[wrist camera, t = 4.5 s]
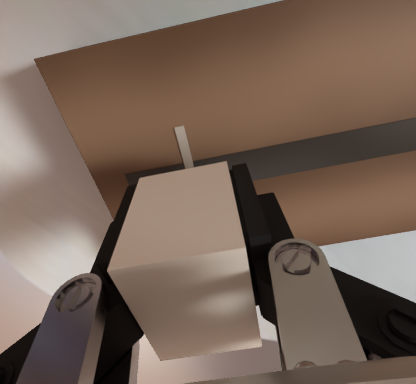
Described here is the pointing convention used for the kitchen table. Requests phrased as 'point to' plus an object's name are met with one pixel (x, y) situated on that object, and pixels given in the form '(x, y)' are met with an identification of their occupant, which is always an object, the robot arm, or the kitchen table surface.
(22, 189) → the kitchen table surface
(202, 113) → the control board
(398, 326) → the robot arm
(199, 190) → the block
